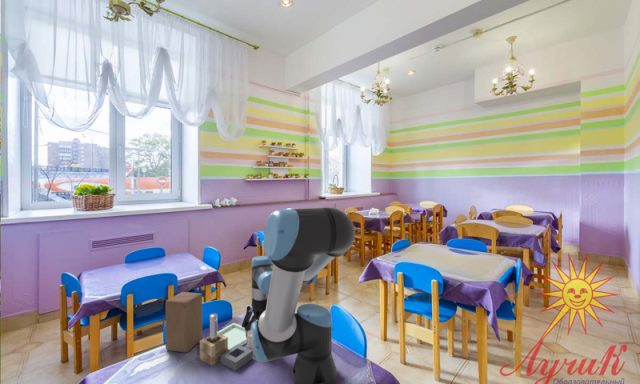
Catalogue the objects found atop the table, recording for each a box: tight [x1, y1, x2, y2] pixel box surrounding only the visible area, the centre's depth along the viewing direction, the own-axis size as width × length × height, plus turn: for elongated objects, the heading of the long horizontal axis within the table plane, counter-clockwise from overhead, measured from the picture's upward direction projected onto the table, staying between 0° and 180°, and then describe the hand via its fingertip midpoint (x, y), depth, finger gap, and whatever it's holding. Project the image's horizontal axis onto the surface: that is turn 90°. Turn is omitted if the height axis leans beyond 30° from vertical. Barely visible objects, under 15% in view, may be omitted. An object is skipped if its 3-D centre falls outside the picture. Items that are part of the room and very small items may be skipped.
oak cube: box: [199, 333, 228, 366], centre depth 101 cm, size 7×7×7 cm
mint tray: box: [218, 322, 247, 350], centre depth 113 cm, size 15×15×2 cm
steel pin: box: [209, 313, 219, 343], centre depth 101 cm, size 3×3×16 cm
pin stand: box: [220, 344, 254, 372], centre depth 99 cm, size 8×8×3 cm
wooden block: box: [165, 291, 203, 353], centre depth 109 cm, size 10×10×20 cm
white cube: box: [248, 334, 256, 357], centre depth 105 cm, size 7×7×7 cm
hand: (261, 350), depth 105 cm, fingers open, 12 cm apart
